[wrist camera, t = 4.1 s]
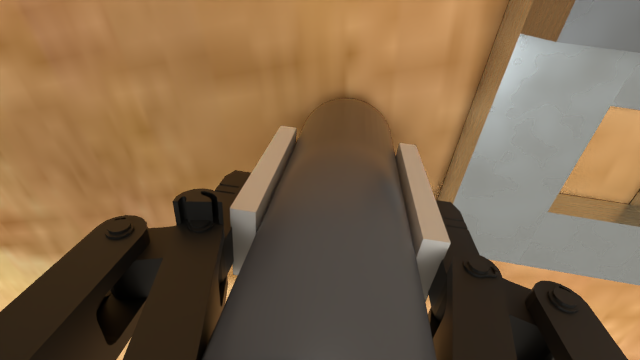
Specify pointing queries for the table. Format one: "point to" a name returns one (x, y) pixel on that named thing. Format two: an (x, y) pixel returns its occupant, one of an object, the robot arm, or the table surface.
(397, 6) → the table surface
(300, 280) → the dark grey round peg
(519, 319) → the robot arm
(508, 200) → the plate
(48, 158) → the table surface
